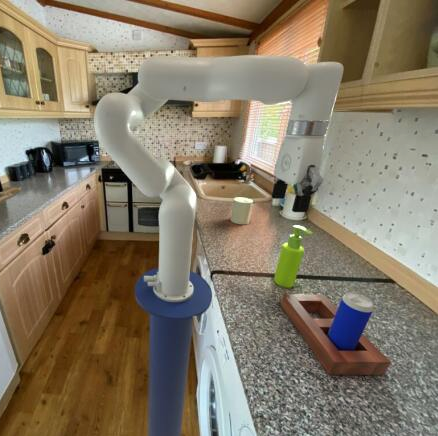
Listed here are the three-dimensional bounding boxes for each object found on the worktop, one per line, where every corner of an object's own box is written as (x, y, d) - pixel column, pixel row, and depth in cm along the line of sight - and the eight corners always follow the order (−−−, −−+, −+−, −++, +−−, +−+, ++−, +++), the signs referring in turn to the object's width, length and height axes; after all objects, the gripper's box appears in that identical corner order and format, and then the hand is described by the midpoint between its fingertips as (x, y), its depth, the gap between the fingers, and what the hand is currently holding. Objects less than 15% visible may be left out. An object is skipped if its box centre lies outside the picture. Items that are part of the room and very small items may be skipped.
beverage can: (336, 339, 59) (357, 290, 53) (356, 358, 54) (382, 306, 49) (318, 342, 58) (337, 292, 52) (336, 362, 54) (360, 309, 48)
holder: (329, 374, 51) (335, 361, 49) (280, 305, 70) (283, 294, 68) (383, 375, 51) (391, 362, 49) (320, 305, 70) (324, 294, 68)
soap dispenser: (288, 291, 75) (305, 234, 67) (269, 278, 81) (283, 224, 73) (300, 286, 77) (318, 230, 70) (282, 274, 83) (296, 221, 75)
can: (236, 225, 121) (240, 202, 116) (227, 218, 129) (230, 196, 125) (252, 223, 123) (257, 201, 118) (242, 216, 131) (245, 195, 127)
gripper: (270, 128, 60) (257, 194, 67) (314, 132, 44) (291, 218, 51) (300, 128, 60) (284, 194, 67) (354, 132, 45) (327, 218, 51)
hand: (287, 204), depth 59 cm, fingers open, 9 cm apart
